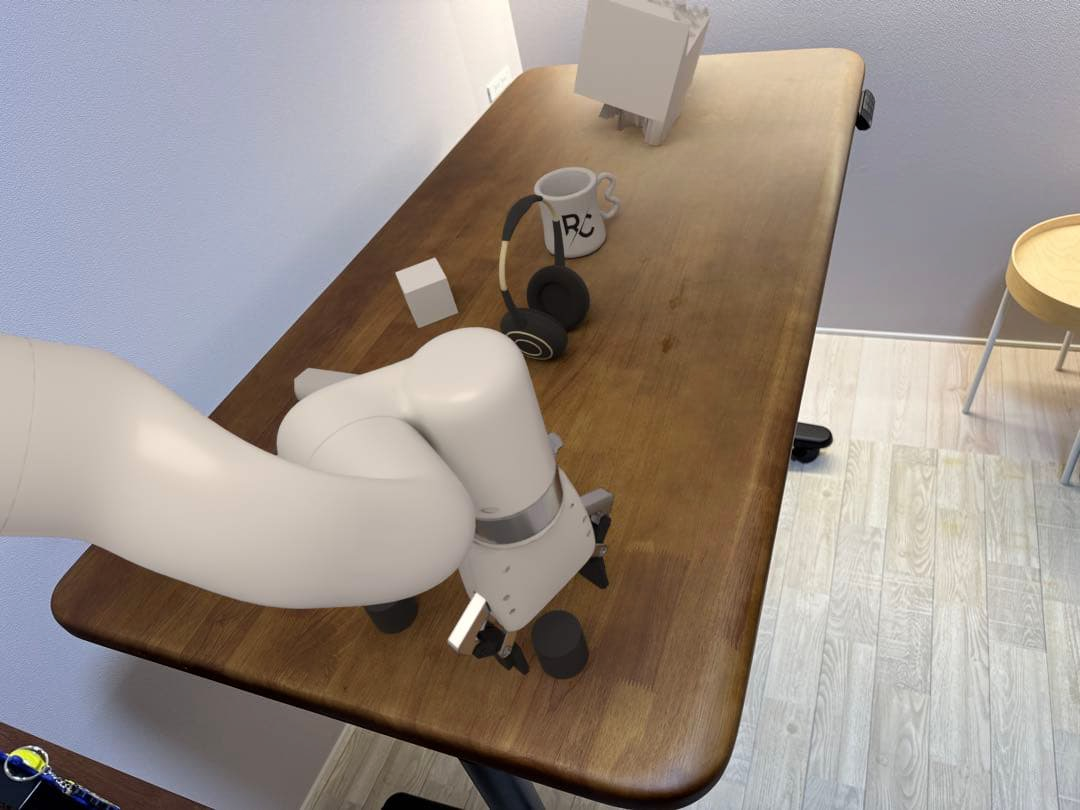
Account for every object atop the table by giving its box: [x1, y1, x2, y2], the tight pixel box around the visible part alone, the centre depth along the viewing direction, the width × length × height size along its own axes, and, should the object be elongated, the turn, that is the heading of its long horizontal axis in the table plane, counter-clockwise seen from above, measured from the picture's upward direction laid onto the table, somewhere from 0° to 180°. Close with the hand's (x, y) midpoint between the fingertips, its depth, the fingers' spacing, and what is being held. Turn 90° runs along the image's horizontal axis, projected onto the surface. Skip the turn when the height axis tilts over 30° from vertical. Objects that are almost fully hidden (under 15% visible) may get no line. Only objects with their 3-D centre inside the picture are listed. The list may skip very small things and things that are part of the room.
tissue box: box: [573, 0, 712, 147], centre depth 129 cm, size 20×16×25 cm
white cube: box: [395, 257, 459, 329], centre depth 109 cm, size 6×6×6 cm
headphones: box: [498, 193, 591, 361], centre depth 93 cm, size 9×15×20 cm, turn 154°
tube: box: [293, 367, 359, 402], centre depth 95 cm, size 5×5×25 cm
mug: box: [533, 166, 621, 259], centre depth 112 cm, size 12×9×10 cm
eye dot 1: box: [362, 596, 419, 635], centre depth 74 cm, size 4×4×4 cm
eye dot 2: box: [530, 609, 590, 680], centre depth 67 cm, size 4×4×4 cm
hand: (555, 619), depth 65 cm, fingers open, 9 cm apart
